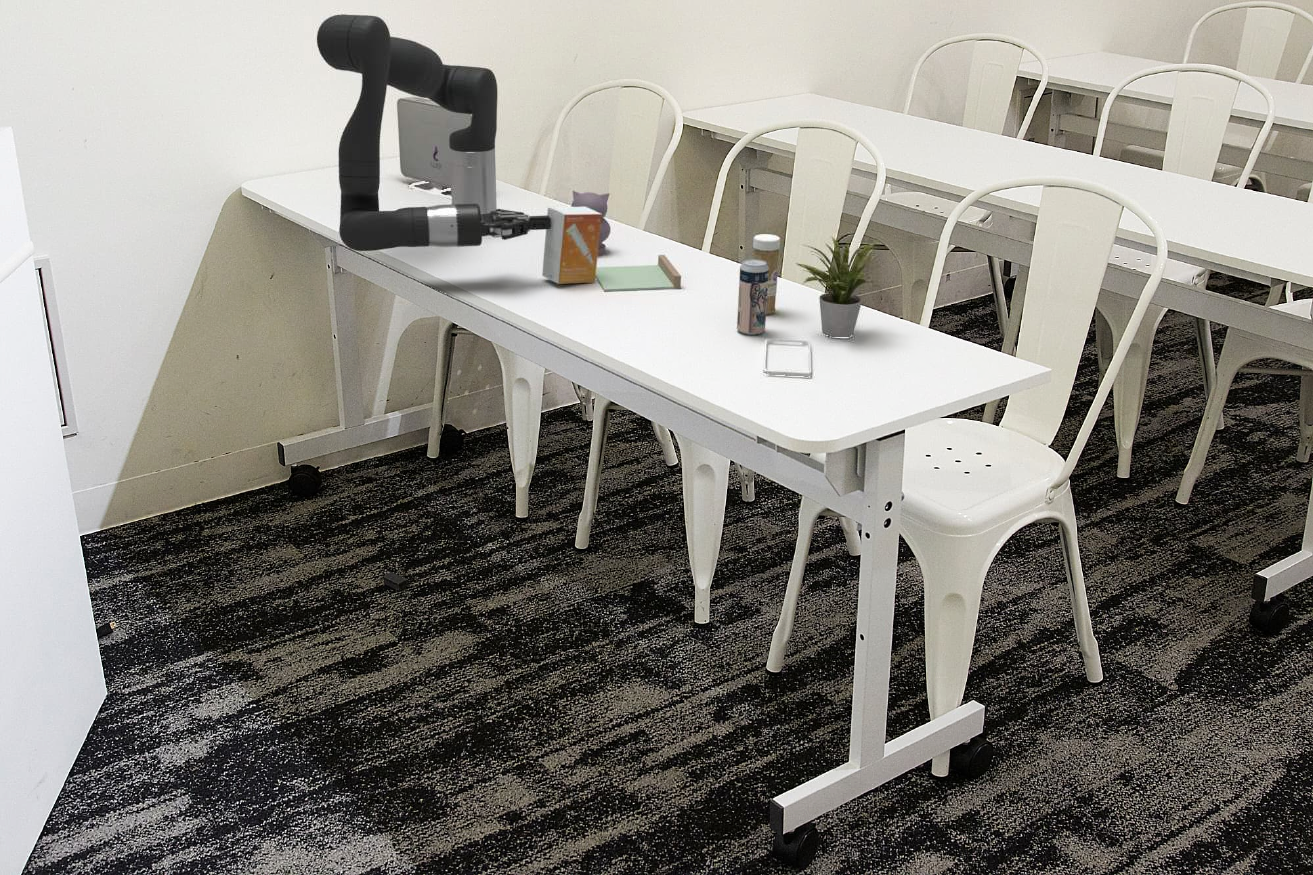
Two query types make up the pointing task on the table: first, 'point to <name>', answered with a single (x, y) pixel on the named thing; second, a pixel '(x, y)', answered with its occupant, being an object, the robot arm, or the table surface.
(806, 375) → the white phone case
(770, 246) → the sprinkles bottle
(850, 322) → the house plant
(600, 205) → the cat figurine
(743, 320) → the beer can
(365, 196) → the robot arm
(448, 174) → the network device
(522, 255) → the table surface
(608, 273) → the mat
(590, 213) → the small box
